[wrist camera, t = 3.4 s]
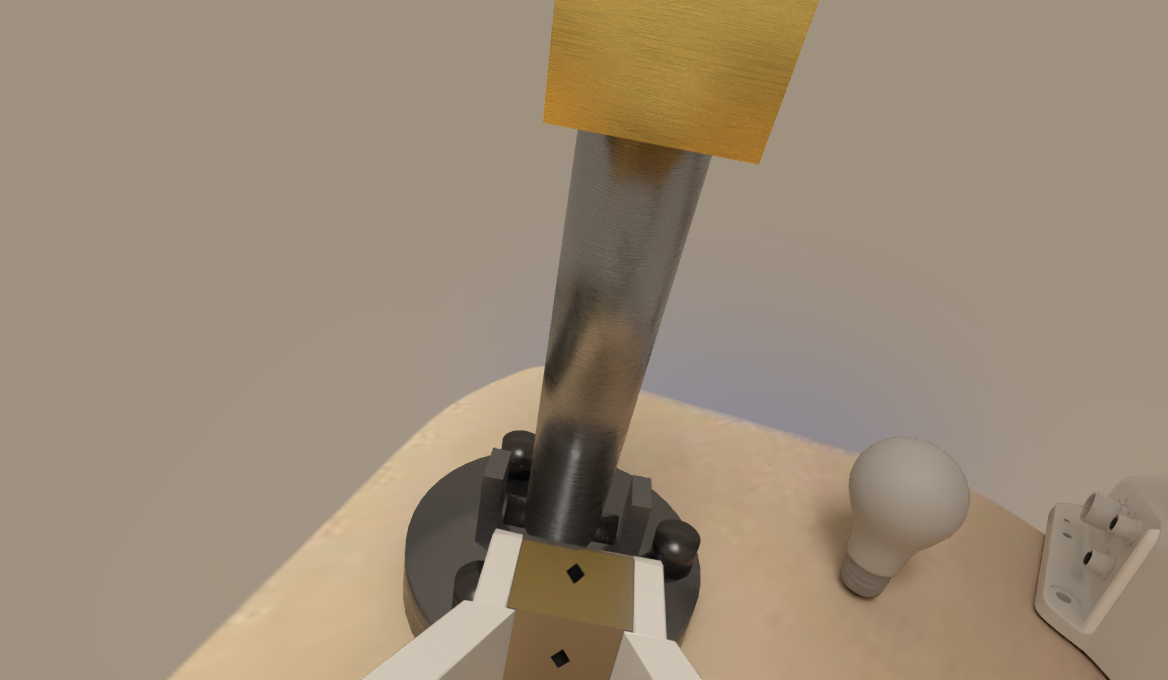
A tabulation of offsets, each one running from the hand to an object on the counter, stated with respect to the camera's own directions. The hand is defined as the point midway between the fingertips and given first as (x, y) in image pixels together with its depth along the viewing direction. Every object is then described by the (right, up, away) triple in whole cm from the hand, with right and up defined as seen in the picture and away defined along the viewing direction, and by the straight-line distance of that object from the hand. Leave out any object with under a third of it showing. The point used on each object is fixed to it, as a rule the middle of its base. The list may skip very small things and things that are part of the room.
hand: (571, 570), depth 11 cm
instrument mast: (-1, -6, +23) cm, 23 cm away
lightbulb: (+17, -12, +28) cm, 35 cm away
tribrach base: (-2, -10, +25) cm, 27 cm away
